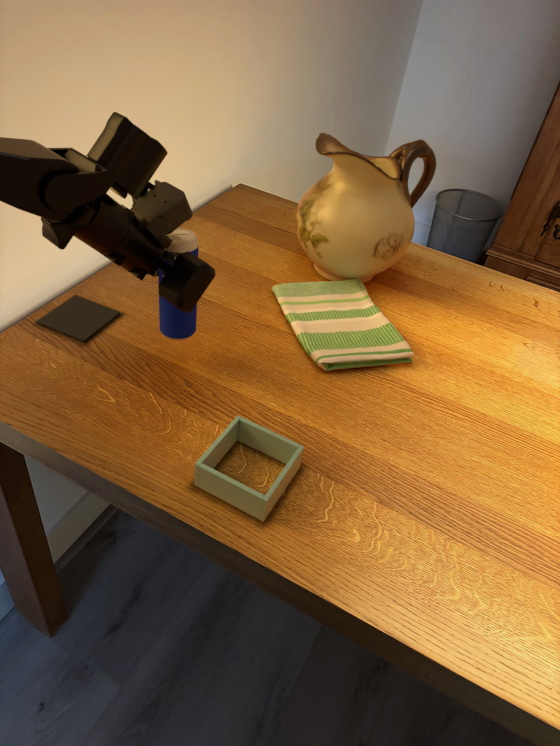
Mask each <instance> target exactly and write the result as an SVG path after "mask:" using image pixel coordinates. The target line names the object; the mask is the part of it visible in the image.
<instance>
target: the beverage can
mask: <svg viewBox="0 0 560 746" xmlns="http://www.w3.org/2000/svg"><path fill="white" fill-rule="evenodd" d="M167 236H168V237H169V238H170V239H171V240H173V241H172V243H171V244H170V246H169V247H168V249H165V248H164V250H166V251H167V252H169V253H170V254H172V255H173V254H175V253H176V252H179V253H181V254H182V253H185V252H187V251H189V252H190V253H192V254H193V255H195V256H197V257H198V258H199V241H198V236H197V235H196V234H195V232H193V231H192V230H190V229H187V228H183V227H178V228H177V229H176V230H175V231H174V232H172V233H171V234H168V235H167ZM162 261H164V262H165V263H167V264H168V265H169V264H170V263H169V262H167V261H166V260H164V259H163V258H162ZM171 263H173V262H171ZM158 271H159V272H158V276H157V278H158V280H157V281H158V282H157V283H158V285H159V284H160V282H161V281H162V279H163V278H164V276H162V275H163V273H164V272H163V271H162V270H160V269H159V268H158ZM158 315H159V317H158V318H159V322H158V323H159V331H160V333H161V334H162V336H164V337H165V338H166V339H168V340H171V341H175V342H177V341H178V342H181V341H186V340H188V339H190V338H191V337H193V336H194V334H195V333H196V331H197V319H198V317H197V315H198V303H197V304H196V305H195V307H194V308H193V310H192V311H191V312H188V313H184V312H183V311H181V310H180V309H178V308H176V307H175V306H174V305H172V304H171V303H169V302H168V301H167V300H165V299H164V298H162V297H161V296H160V295H159V294H158Z"/></svg>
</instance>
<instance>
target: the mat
mask: <svg viewBox="0 0 560 746" xmlns="http://www.w3.org/2000/svg"><path fill="white" fill-rule="evenodd" d="M120 315H121V311H118V310H116V309H113V308H110V307H108V306H105V305H103V304H100V303H97V302H96V301H92V300H89V299H87V298H84V297H82V296H80V295H77V294H74V295H73V296H72V297H70V298H68V299H67V300H66V301H64V302H63V303H61V304H60V305H59V306H56V307H55V308H54V309H53V310H51V311H50V312H48V313H47V314H45V315H44V316H43V317H41V318H39V319H38V320H36V324H37V325H40V326H43V327H45V328H47V329H49V330H53V331H55V332H57V333H60V334H62V335H64V336H67V337H70V338H71V339H75V340H77V341H80V342H82V343H86V342H87V341H88V340H89V339H90V338H92V337H93V336H94V335H96V334H97V333H98V332H100V331H101V330H102V329H103V328H104V327H106V326H107V325H108V324H110V323H111V322H112V321H113V320H115V319H116V318H117V317H118V316H120Z"/></svg>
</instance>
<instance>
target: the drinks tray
mask: <svg viewBox="0 0 560 746" xmlns="http://www.w3.org/2000/svg"><path fill="white" fill-rule="evenodd" d="M237 441H238V442H240V443H242V444H244V445H246V446H248V447H250V448H252V449H255V450H256V451H258V452H260V453H262V454H264V455H266V456H268V457H270V458H273V459H275V460H277V461H279V462H281V463H283V464H285V466H284V467H283V469H282V470H281V471H280V473H279V474H278V476H277V478H276V479H275V480H274V482H273V483H272V484H271V486H270V487H269V488H268V490H267V491H266V493H265V494H263V493H261V492H259V491H258V490H256V489H253V488H251V487H249V486H247V485H246V484H244V483H241V482H240V481H238V480H235V479H234V478H232V477H230V476H228V475H226V474H224V473H222V472H220V471H218V470H217V469H215V468H216V467H217V465H218V464H219V463H220V462H221V460H222V459H223V458H224V457H225V456H226V454H227V453H228V452H229V451H230V450H231V449H232V447H233V446H234V445H235V444H236V442H237ZM304 450H305V446H304V445H302V444H300V443H298V442H296V441H293V440H291V439H289V438H287V437H285V436H283V435H281V434H279V433H277V432H275V431H272V430H270V429H269V428H266V427H264V426H262V425H260V424H258V423H256V422H253V420H252V421H251V420H250V419H247V418H245V417H243V416H241V415H239V414H237V415H236V416H235V418H233V419H232V421H231V422H230V423H229V424H228V426H226V428H225V429H224V430H223V431H222V432H221V433H220V434H219V436H218V437H217V438H216V439H215V440H214V441H213V442H212V444H210V446H209V447H208V448H207V449H206V450H205V452H204V453H203V454H202V455H201V456H200V457H199V458H198V459H197V461H196V462H195V463H194V478H193V479H194V480H193V481H194V483H193V484H194V486H195V487H197V488H199V489H201V490H203V491H204V492H206V493H208V494H210V495H212V496H214V497H215V498H217V499H219V500H221V501H223V502H225V503H227V504H229V505H231V506H233V507H234V508H237V509H239V510H240V511H242V512H244V513H246V514H248V515H249V516H251V517H253V518H255V519H257V520H259V521H261V522H263V523H264V522H265V520H266V519H267V518H268V516H269V514H270V513H271V511H272V510H273V509H274V507H275V505H276V504H277V503H278V501H279V499H280V498H281V497H282V495H283V494H284V492H285V491H286V489H287V487H288V486H289V485H290V483H291V481H292V480H293V478H294V477H295V475H296V474H297V472H298V471H299V469H300V468H301V465H302V459H303V455H304Z"/></svg>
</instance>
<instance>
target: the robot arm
mask: <svg viewBox="0 0 560 746" xmlns="http://www.w3.org/2000/svg"><path fill="white" fill-rule="evenodd" d="M167 156H168V150H167V149H166V147H164V145H163V144H162V143H161V142H160V141H159V140H157V139H156V138H154V137H152V136H150V135H149V134H148V133H147V132H145V131H144V130H143V129H141V128H140V127H139V126H137V125H136V124H134V123H133V122H132V121H131V120H130V119H129V118H128V117H127V116H125V115H123V114H121V113H119V112H117V111H113V112H112V113H111V115H110V116H109V118H108V119H107V121H106V123H105V126H104V128H103V130H102V131H101V133H100V135H99V136H98V138H97V139H96V140H95V142H94V143H93V145H92V146H91V148H90V149H89V151H88V152H87V154H86V155H85V154H84V153H82V152H80V151H79V150H77V149H75V148H73V147H46V146H44V145H43V144H41V143H39V142H37V141H36V140H33V139H26V138H13V137H2V136H0V202H2V203H4V204H6V205H9V206H11V207H13V208H15V209H17V210H20V211H23V212H25V213H29V214H32V215H34V216H37V217H40V221H41V224H42V226H41V236H42V237H43V238H45V239H46V240H47V241H48V242H50V243H51V244H53V246H55V247H57V248H58V250H61V251H62V250H65V249H66V248H67V247H68V245H69V244H70V242H71V240H72V239H73V238H74V237H75V238H76V239H77V240H78V241H80V242H82V243H83V244H85V245H87V246H88V247H90V248H91V249H93V250H94V251H96V252H97V253H99V254H100V255H102V256H103V257H105V258H107V260H109V261H111V262H112V263H113V264H115V265H117V266H118V267H120V268H122V269H124V270H125V271H127V272H128V273H130V274H131V275H132V276H134V277H135V278H137V279H138V280H140V281H143V280H144V279H145V277H146V276H147V275H148V276H151V277H152V278H153V279H154V278H156V277H158V272H159V271H158V268H159V269H160V270H162V271H163V272H164V273H163V275H162V276H164V278H163V279H162V281H161V282H160V284H158V287H157V288H158V296H159V295H160V296H161V297H162V298H164V299H165V300H167V301H168V302H169V303H171V304H172V305H174V306H175V307H176V308H178V309H180V310H181V311H183V312H184V313H188V312H191V311H192V310H193V308H194V307H195V305H196V304H197V305H198V303H199V301H200V300H201V298H202V297H203V295H204V294H205V292H206V290H207V289H208V288H209V286H210V285H211V283H212V282H213V280H214V279H215V277H216V269H215V268H214V267H213V266H211V265H210V264H209V263H208V262H207V261H205V260H203V259H201V258H200V257H199V256H198V257H197V256H195V255H193V254H192V253H190V252H189V251H187V252H185V253H182V254H181V253H179V252H176V253H175V254H173V255H172V254H170V253H169V252H167V251H166V250H164V248H165V249H168V247H169V246H170V244H171V243H172V241H173V240H171V239H170V238H169V237H168V236H167V235H168V234H171V233H172V232H174V231H175V230H176V229H177V228H180V227H181V226H182V225H183V224H184V223H185V222H188V221H190V220H191V219H192V218H193V215H194V213H193V210H192V208H191V205H190V203H189V200H188V198H187V196H186V193H185V191H183V190H182V189H180V188H178V187H177V186H175V185H173V184H171V183H169V182H167V181H160V180H158V179H156V180H154V181H153V182H154V184H153V183H152V182H150V180H151V179H152V178H153V176H154V174H155V173H156V171H157V170H158V169H159V167H160V166H161V164H162V163H163V161H164V160H165V159H166V157H167ZM109 190H110V191H112V193H114V194H116V195H117V196H119V197H120V198H122V199H124V200H125V199H127V198H128V196H130V197H131V201H132V203H131V204H132V205H131V207H130V208H128V207H127V206H125V205H124V204H122V203H119V202H118V201H117V200H115V199H114V198H113V197H112V196H110V195H109V194H108V192H109ZM162 258H163V259H164V260H166V261H167V262H169V263H170V264H169V265H168V264H167V263H165V262H164V261H162ZM171 262H173V263H171Z"/></svg>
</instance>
